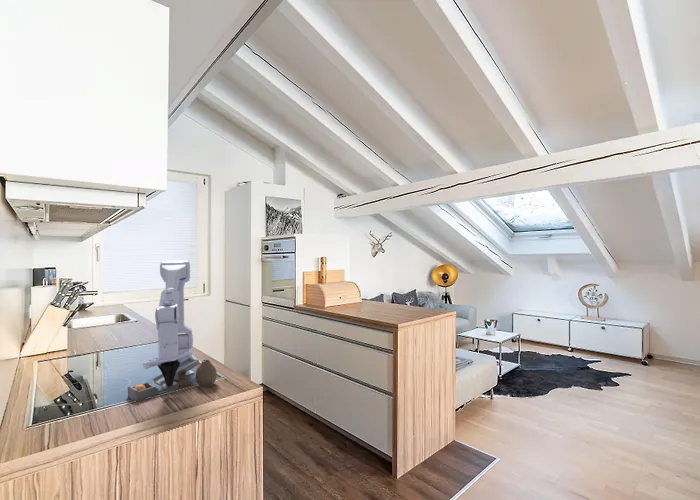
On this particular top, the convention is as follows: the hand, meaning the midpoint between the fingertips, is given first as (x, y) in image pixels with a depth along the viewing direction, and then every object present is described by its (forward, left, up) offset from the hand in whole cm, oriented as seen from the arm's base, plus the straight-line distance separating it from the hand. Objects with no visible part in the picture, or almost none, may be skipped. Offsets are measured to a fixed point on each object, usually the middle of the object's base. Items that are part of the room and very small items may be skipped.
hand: (169, 384), depth 115 cm
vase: (0, +13, -4) cm, 13 cm away
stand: (-9, +7, -4) cm, 12 cm away
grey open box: (-9, -4, -4) cm, 11 cm away
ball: (-9, -5, -2) cm, 11 cm away
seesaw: (-5, +6, 0) cm, 8 cm away
